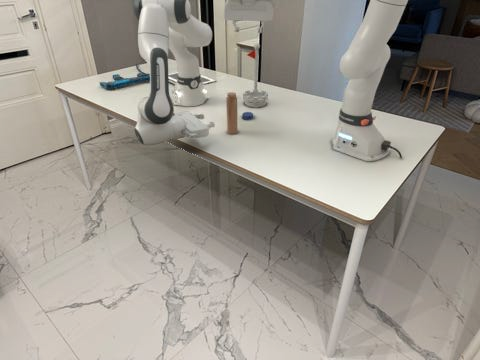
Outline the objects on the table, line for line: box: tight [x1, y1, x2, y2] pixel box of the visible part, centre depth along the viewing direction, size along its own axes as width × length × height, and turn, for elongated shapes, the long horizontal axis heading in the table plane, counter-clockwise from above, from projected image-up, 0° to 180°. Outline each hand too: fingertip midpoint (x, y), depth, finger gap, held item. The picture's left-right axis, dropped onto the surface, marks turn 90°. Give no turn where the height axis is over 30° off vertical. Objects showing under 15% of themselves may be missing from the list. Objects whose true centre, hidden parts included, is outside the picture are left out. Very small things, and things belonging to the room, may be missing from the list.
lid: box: [241, 111, 254, 121], centre depth 162 cm, size 5×5×2 cm
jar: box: [225, 91, 239, 135], centre depth 144 cm, size 5×5×17 cm
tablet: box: [168, 71, 217, 85], centre depth 215 cm, size 32×20×1 cm, turn 41°
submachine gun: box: [99, 72, 150, 90], centre depth 210 cm, size 34×4×25 cm
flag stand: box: [242, 42, 269, 108], centre depth 170 cm, size 13×13×30 cm
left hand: (208, 119), depth 140 cm, fingers open, 8 cm apart
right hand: (248, 32), depth 142 cm, fingers open, 8 cm apart
